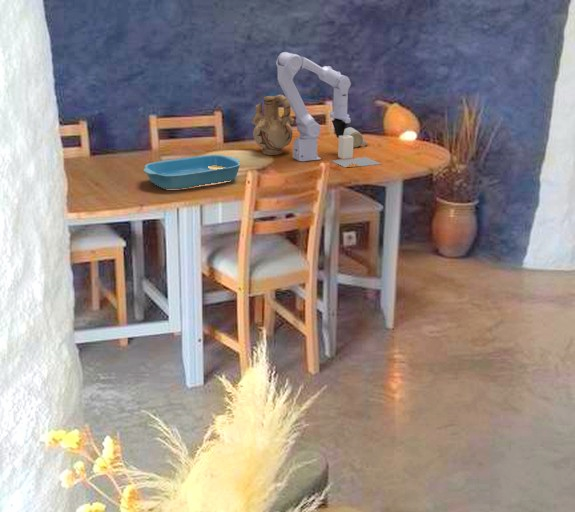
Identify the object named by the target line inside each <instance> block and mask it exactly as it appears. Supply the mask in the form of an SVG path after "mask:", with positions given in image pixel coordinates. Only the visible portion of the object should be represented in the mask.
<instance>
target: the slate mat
mask: <svg viewBox="0 0 575 512" xmlns="http://www.w3.org/2000/svg"><path fill="white" fill-rule="evenodd" d="M331 163H333V164H335V165H338V164H339V165H338V166H340V165H341V166H340V167H342V166H343V167H342V168H344V167H347V166H349V164H350V165H352V164H351V163H353V164H354V166H355V164H357V165H358V166H362V167H369V166H368V165H372V166H380V165H382V163H381V162H379V161H376V160H373V159H372V158H369V157H367V156H364V157H355V158H354V157H353V159H343V160H342V159H335V160H331Z"/></svg>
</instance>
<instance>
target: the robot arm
mask: <svg viewBox="0 0 575 512" xmlns="http://www.w3.org/2000/svg"><path fill="white" fill-rule="evenodd" d="M275 64H276V67H277V82H278V84H279V86H280V88H281V91H282V92H283V94H284V96H285V97H286V98H287V100H288V102H289V104H290V108H291V110H292V112H293V114H294V116H295V117H296V118H295V119H294V122H295V123H296V130H297V132H298V133H299V137H296V138H294V139H293V145H292V149H293V150H292V158H293V159H295V160H297V161H298V162H307V161H308V162H309V161H310V162H311V161H318V160H322V158H321V157H319V156H318V138H319V137H318V136H319V135H320V134H321V131H322V128H321V125H320V123H318V122H316V120H315V118H314V117H313V116H312V115H311V114H310V113H309V111H308V109H307V107H306V105H305V103H304V101H303V98H302V97H301V94H300V93H299V90H298V89H297V86H296V83H294V82H295V81H294V78H295V76H296V74H297V73H298V72H299V71H300V69H301V70H303V69H306V70H308V71H310V72H313V73H314V74H316V75H317V76H318V78H319V80H320V81H322V82H325V83H326V84H328V85H330V86H331V87H332V88H333V104H332V105H333V109H332V112H330V113H329V118H333V119H334V120H331V122H332V125H333V127H334V131H335V136H336V138H337V139H339V136H343V134H344V130H345V129H346V128H347V127H348V126H347V125H349V124H351V121H352V120H351V119H352V118H351V117H350V114H349V113H348V100H349V98H348V94H349V89H350V88H351V85H352V81H351V80H350V78H349V77H348V76H347V75H344V74H341V71H336V70H334V69H333V67H332V66H330V65H328V66H326V65H324V66H320V65H319V64H317V63H316V62H314V61H312V60H310V59H308V58H307V57H305V56H301V55H299V54H297V53H291V52H289V51H283V52H281V53H280V54H279V55H278V57H277V59H276V62H275Z"/></svg>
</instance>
